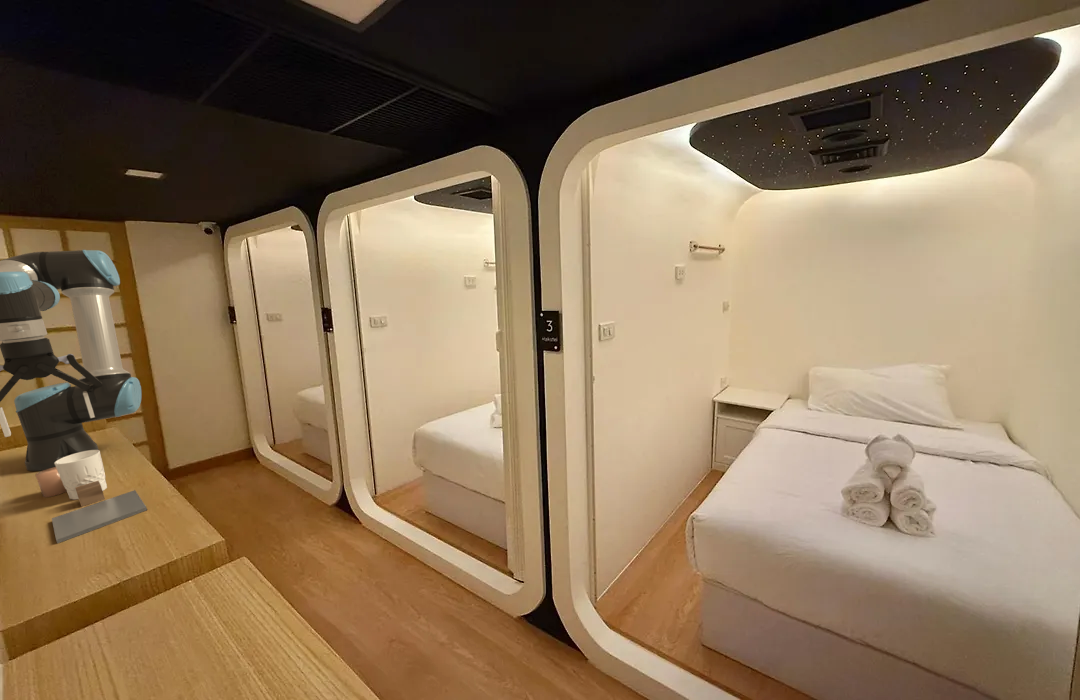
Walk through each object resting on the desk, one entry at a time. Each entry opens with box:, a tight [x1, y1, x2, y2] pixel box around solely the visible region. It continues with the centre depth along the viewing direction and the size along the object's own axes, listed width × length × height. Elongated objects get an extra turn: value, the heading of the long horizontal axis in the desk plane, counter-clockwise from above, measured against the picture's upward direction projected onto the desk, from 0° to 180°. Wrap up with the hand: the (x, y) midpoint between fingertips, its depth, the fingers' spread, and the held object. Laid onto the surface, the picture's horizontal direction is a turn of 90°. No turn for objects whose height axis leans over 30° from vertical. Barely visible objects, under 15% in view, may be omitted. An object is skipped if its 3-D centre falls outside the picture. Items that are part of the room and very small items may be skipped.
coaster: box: [51, 489, 148, 544], centre depth 97 cm, size 14×14×1 cm
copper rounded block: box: [35, 467, 67, 498], centre depth 110 cm, size 5×5×6 cm
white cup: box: [54, 449, 108, 500], centre depth 107 cm, size 8×8×10 cm
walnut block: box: [75, 481, 106, 508], centre depth 104 cm, size 4×4×4 cm
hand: (52, 425), depth 102 cm, fingers open, 13 cm apart
